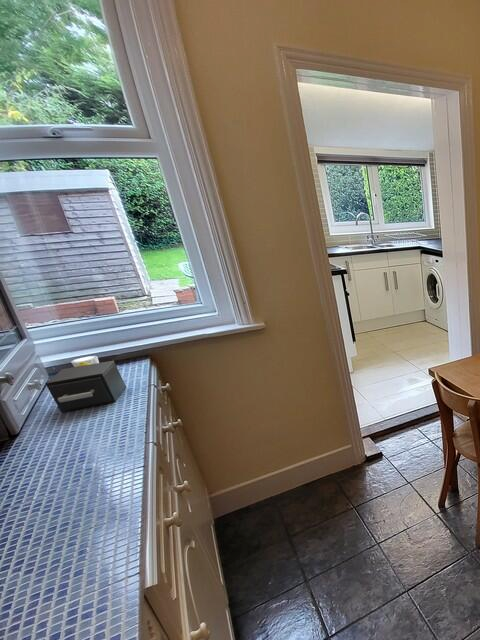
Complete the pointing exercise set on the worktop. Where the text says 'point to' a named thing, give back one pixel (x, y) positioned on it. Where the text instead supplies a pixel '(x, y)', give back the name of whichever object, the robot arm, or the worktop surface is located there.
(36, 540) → the worktop surface
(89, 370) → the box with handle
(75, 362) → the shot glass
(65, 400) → the drawer
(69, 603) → the worktop surface
